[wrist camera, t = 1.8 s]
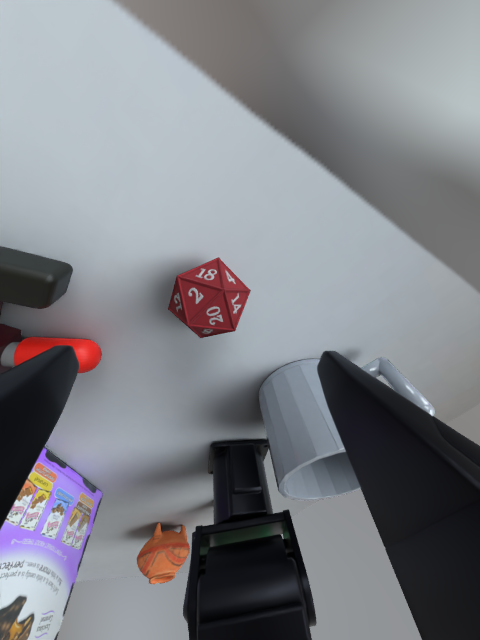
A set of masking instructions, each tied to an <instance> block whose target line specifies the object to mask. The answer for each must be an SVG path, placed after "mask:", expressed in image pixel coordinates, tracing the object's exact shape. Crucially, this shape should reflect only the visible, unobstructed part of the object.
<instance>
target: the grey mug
mask: <svg viewBox="0 0 480 640" xmlns="http://www.w3.org/2000/svg"><path fill="white" fill-rule="evenodd" d="M319 361H320V359H306V360H300V361H296V362H293V363H290V364H287V365H285V366H283V367H281V368H279V369H278V370H276V371H275V372H273V373H272V374H271V375H270V376H269V377H268V378H267V379H266V380H265V381H264V382H263V384H262V386H261V388H260V390H259V396H258V397H259V403H260V409H261V414H262V418H263V423H264V428H265V432H266V437H267V441H268V446H269V450H270V455H271V459H272V464H273V468H274V473H275V477H276V482H277V487H278V491H279V492H280V493H281V494H282V495H283V496H284V497H287V498H290V499H293V500H304V501H309V500H321V499H327V498H332V497H337V496H341V495H344V494H348V493H351V492H354V491H357V490H359V489H361V488H360V485H359V483H358V480H357V478H356V475H355V473H354V470H353V468H352V465H351V463H350V461H349V458H348V456H347V453H346V451H345V448H344V446H343V443H342V441H341V438H340V436H339V433H338V431H337V429H336V426H335V424H334V421H333V419H332V416H331V414H330V411H329V409H328V406H327V403H326V400H325V396H324V393H323V390H322V386H321V383H320V379H319V376H318V372H317V365H318V363H319ZM361 369H363V370H364V371H366V372H367V373H369V374H370V375H372V376H373V377H375V378H376V377H378V376H380V375H382V377H383V378H384V379H385V380H386V381H387V382H388V384H389V385H390V386H391V387H392V388H393V389H394V391H396V392H398V393H399V394H401V395H402V396H404V397H405V398H407V399H408V400H410V401H411V402H413V403H414V404H416V405H417V406H419V407H420V408H422V409H423V410H425V411H426V412H428V413H429V414H431V416H434V415H435V410H434V408H433V406H432V405H431V404H430V403H429V402H428V401H427V400H426V399H425V398H424V397H423V396H422V395H421V393H420V392H419V391H418V390H417V389H416V388H415V387H414V386H413V385H412V384H411V383H410V382H409V381H408V380H407V379H406V378H405V377H404V376H403V375H402V374H401V373H400V372H399V371H398V370H397V369H396V367H395V366H394V365H393V364H392V363H391V362H390V361H389V360H388V359H386V358H382V357H381V358H377V359H375V360H374V361H372V362H370V363H369V364H367V365H365V366H363V367H362V368H361Z"/></svg>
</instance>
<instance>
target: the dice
mask: <svg viewBox="0 0 480 640" xmlns="http://www.w3.org/2000/svg"><path fill="white" fill-rule="evenodd" d="M250 291H251V290H250V289H248V288H247V287H246V286H245V285H244V283H243V282H242V281H241V280H240V279H239V278H238V277H237V276H236V275H235V274H234V273H233V272H232V271H231V270H230V269H229V268H228V267H227V266H226V265H225V264H224V263H223V262H222V261H221V260H220V258H216V259H214V260H212V261H210V262H207V263H205V264H203V265H200V266H198V267H196V268H194V269H191V270H189V271H187V272H185V273H182V274H180V275H177V277H176V281H175V285H174V289H173V293H172V296H171V300H170V304H169V307H168V310H170V311H171V312H172V313H173V314H174V315H175V316H176V317H178V318H179V319H180V320H181V321H182V322H183V323H184V324H185V325H187V326H188V327H189V328H190V329H191V330H192V331H193V332H194V333H196V334H197V335H198V336H199V337H200V338H203V337H208V336H213V335H218V334H222V333H227V332H232V331H235V330H236V327H237V325H238V322H239V319H240V317H241V314H242V311H243V309H244V306H245V304H246V301H247V298H248V296H249V293H250Z"/></svg>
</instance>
